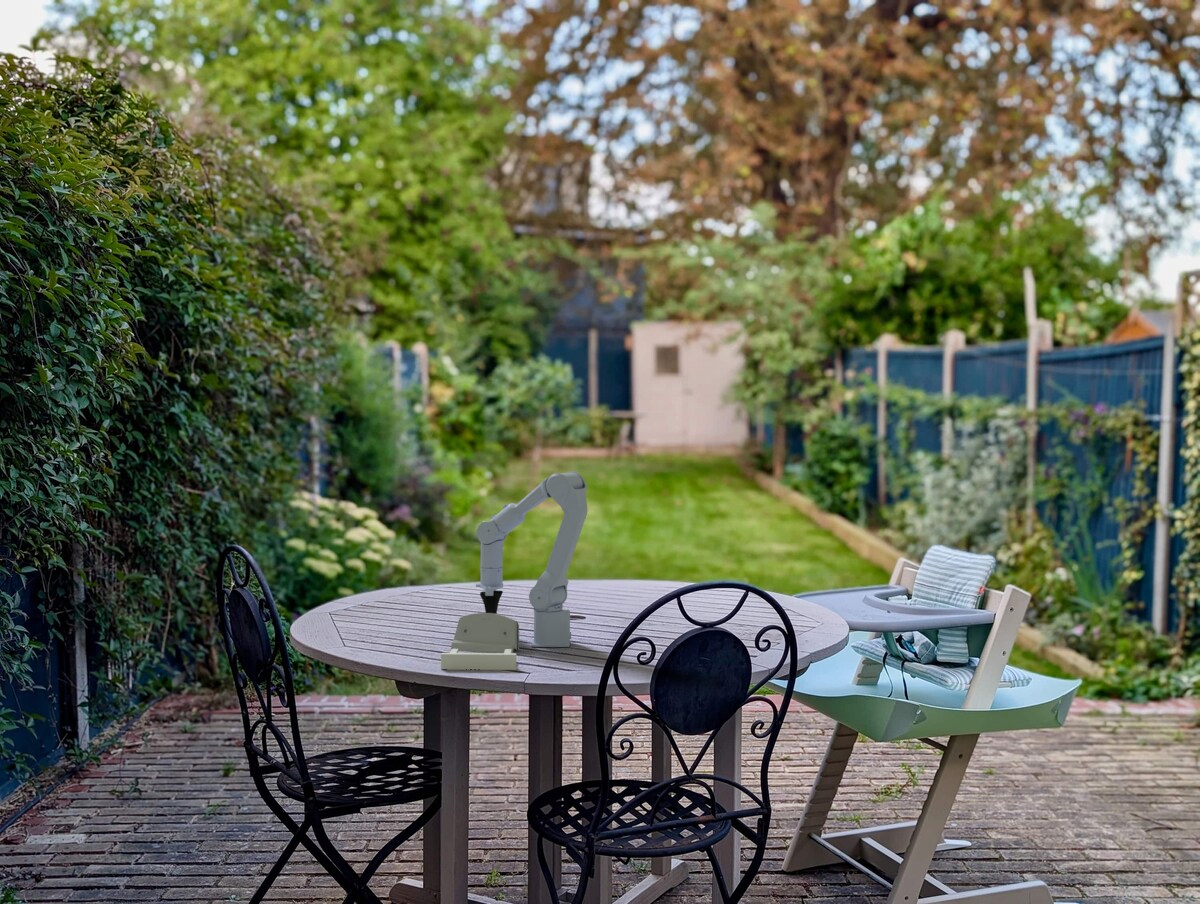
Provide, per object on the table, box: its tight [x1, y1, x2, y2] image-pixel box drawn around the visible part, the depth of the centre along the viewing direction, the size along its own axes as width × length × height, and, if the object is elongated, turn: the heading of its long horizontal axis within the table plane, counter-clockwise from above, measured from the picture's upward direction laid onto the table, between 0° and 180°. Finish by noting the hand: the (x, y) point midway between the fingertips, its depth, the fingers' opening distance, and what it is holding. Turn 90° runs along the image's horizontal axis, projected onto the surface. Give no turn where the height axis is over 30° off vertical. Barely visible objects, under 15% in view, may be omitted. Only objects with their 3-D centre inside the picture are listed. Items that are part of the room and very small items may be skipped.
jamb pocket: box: [440, 648, 517, 671], centre depth 261 cm, size 17×8×4 cm, turn 91°
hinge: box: [450, 612, 520, 653], centre depth 280 cm, size 17×5×10 cm, turn 75°
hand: (491, 619), depth 293 cm, fingers closed
